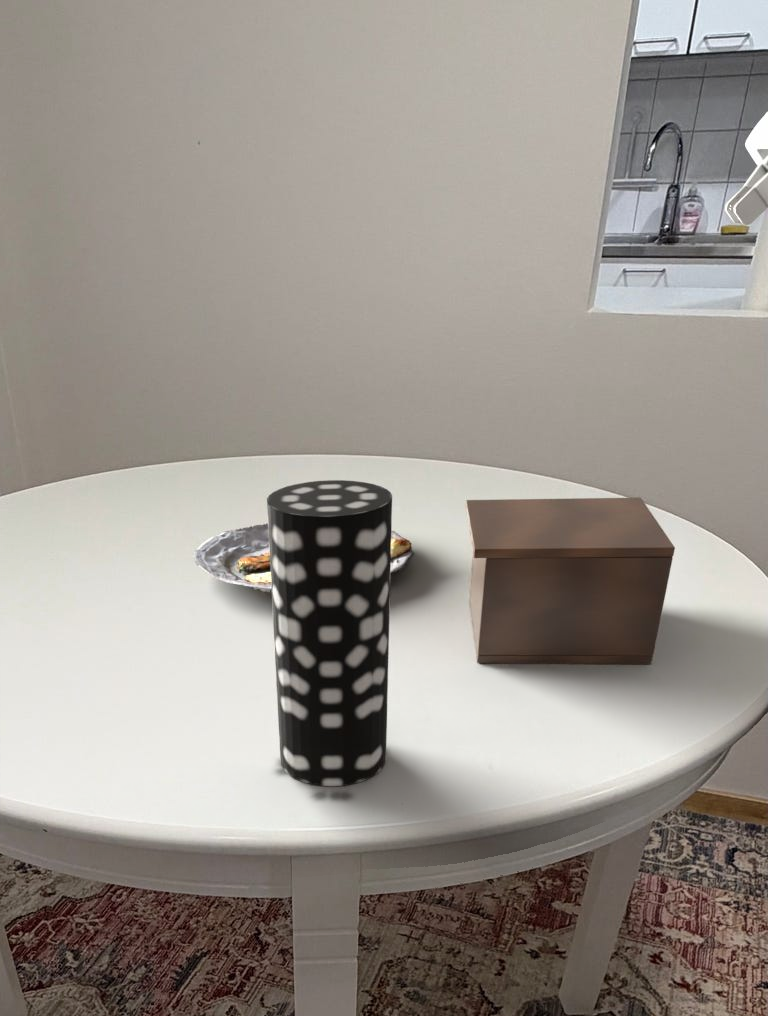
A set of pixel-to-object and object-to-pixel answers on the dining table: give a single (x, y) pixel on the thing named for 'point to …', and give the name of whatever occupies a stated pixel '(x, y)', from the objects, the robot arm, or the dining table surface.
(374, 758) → the white-spotted black cylinder
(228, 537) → the food plate
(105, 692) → the dining table surface
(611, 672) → the dining table surface
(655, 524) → the lid
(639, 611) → the chest
